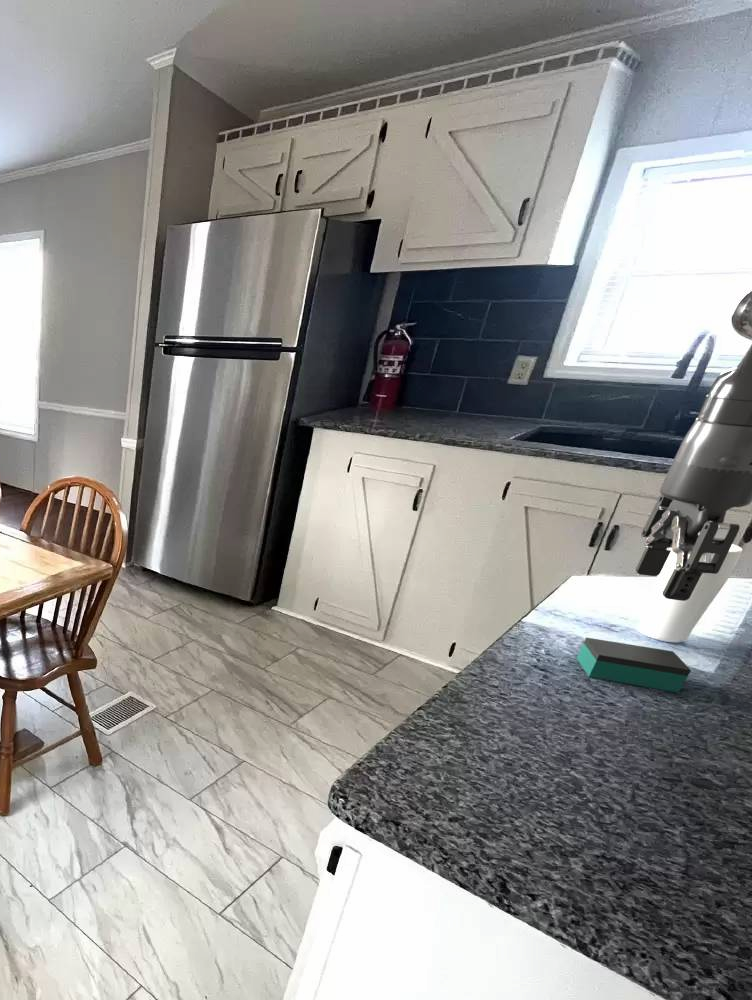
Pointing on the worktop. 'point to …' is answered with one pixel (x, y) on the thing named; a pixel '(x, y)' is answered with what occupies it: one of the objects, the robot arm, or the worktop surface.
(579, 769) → the worktop surface
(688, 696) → the worktop surface
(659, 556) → the robot arm
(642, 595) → the worktop surface
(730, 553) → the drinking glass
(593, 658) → the sponge
